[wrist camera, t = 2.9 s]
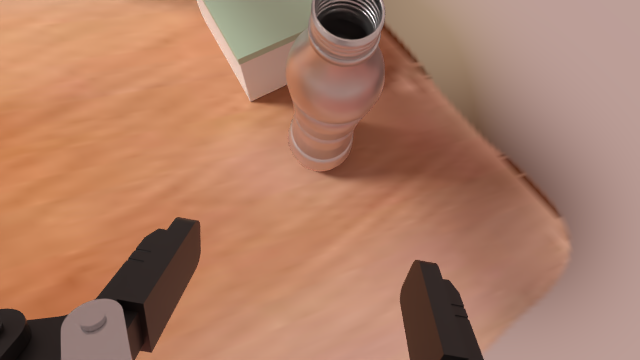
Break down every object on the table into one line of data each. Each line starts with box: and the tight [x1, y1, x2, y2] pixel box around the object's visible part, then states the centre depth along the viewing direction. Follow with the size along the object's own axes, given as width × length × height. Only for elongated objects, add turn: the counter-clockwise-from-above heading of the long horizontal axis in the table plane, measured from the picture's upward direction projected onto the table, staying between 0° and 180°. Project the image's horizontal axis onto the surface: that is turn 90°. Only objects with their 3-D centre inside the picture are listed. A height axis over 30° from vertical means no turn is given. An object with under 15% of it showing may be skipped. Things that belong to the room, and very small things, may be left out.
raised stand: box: [196, 0, 312, 101], centre depth 34 cm, size 12×13×8 cm
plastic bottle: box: [285, 0, 385, 171], centre depth 25 cm, size 6×7×20 cm
